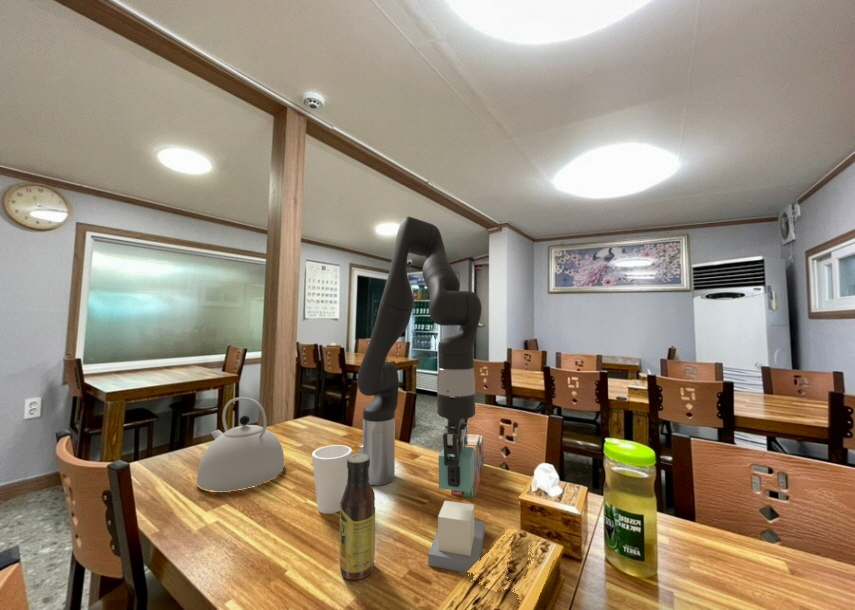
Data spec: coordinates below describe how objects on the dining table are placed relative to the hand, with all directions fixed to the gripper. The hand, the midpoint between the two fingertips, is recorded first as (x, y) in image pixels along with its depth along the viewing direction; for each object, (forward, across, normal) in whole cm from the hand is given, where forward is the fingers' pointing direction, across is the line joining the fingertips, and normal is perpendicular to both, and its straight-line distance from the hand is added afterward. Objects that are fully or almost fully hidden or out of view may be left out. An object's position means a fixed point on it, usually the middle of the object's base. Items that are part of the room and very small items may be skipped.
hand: (457, 477), depth 65 cm
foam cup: (+14, -9, -33) cm, 37 cm away
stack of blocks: (+14, -33, -2) cm, 36 cm away
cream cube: (+12, 0, 0) cm, 12 cm away
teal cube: (+1, 0, 0) cm, 1 cm away
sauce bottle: (+14, +9, -17) cm, 24 cm away
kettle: (+14, -19, -69) cm, 73 cm away
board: (+14, -2, 0) cm, 14 cm away
